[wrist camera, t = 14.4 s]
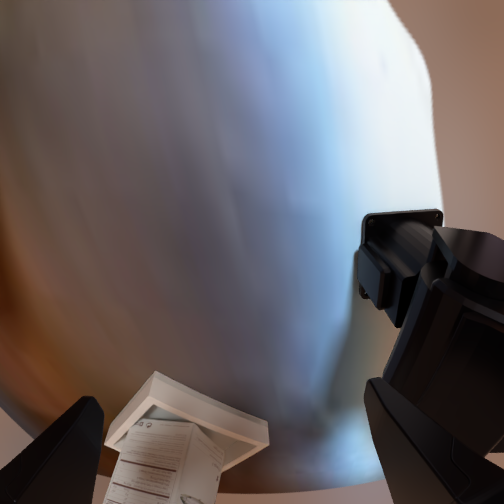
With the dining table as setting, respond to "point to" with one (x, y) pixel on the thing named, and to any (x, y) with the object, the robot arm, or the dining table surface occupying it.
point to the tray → (192, 418)
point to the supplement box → (166, 465)
